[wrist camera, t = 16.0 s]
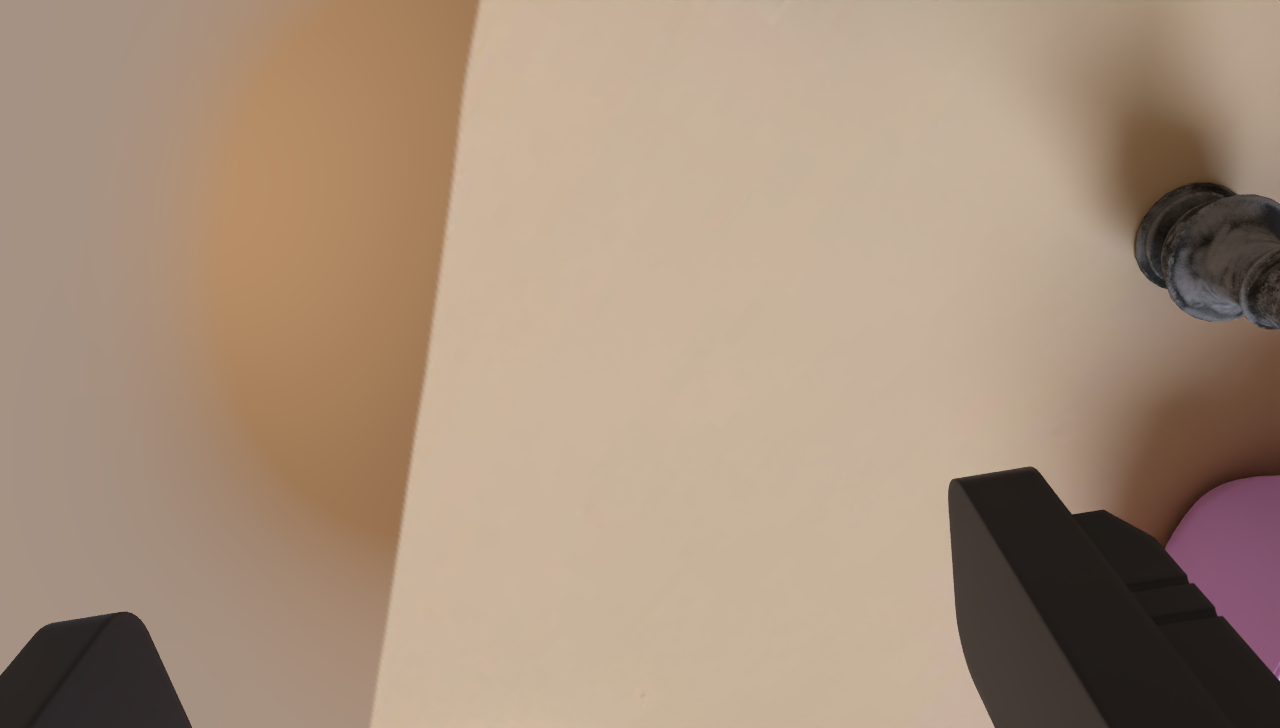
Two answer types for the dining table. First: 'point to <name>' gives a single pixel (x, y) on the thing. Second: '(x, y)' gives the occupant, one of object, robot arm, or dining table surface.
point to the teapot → (1237, 558)
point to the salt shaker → (1215, 253)
